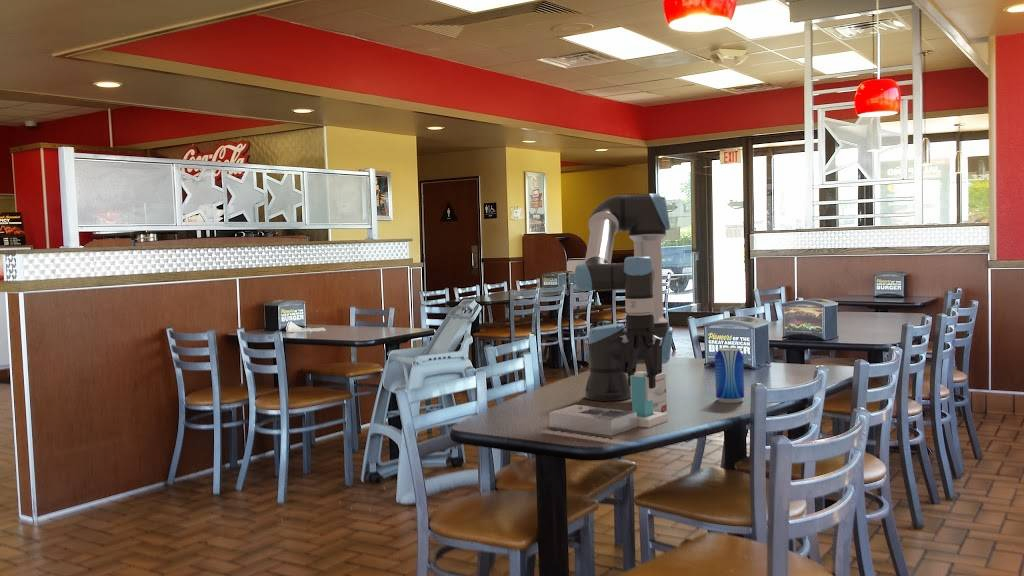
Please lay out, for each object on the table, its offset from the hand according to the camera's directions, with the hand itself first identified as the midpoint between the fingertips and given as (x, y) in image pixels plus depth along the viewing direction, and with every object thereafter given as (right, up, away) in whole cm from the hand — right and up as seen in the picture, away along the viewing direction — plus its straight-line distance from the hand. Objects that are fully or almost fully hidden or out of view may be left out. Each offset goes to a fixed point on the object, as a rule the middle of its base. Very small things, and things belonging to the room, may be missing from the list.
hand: (642, 399), depth 236 cm
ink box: (+5, -7, +13) cm, 16 cm away
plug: (0, -6, 0) cm, 6 cm away
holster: (0, -7, 0) cm, 7 cm away
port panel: (-14, -8, -4) cm, 16 cm away
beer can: (+31, -5, +30) cm, 44 cm away
